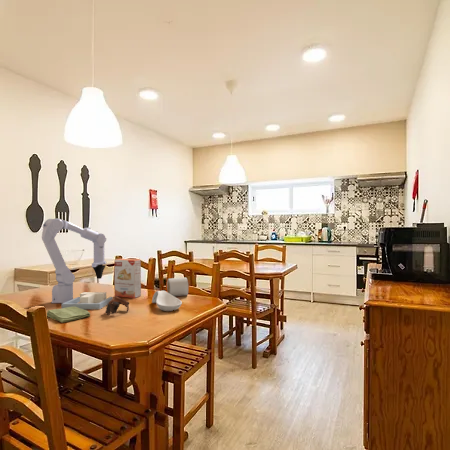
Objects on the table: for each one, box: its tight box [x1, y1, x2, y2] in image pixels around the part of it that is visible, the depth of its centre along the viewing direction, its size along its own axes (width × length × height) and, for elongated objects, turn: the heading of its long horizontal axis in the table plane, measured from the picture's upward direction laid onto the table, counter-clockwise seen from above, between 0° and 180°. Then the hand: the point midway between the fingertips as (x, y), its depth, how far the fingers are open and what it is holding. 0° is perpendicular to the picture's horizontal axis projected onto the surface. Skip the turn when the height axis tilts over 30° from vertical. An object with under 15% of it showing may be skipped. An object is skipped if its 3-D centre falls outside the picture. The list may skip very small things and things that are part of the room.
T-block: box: [79, 291, 107, 303], centre depth 159 cm, size 12×12×5 cm
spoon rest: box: [151, 289, 183, 312], centre depth 152 cm, size 24×12×7 cm, turn 33°
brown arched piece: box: [105, 295, 131, 316], centre depth 142 cm, size 12×10×8 cm
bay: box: [61, 296, 114, 310], centre depth 158 cm, size 18×16×2 cm
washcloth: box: [46, 306, 91, 324], centre depth 137 cm, size 13×18×3 cm
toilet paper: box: [166, 277, 189, 297], centre depth 178 cm, size 10×10×10 cm
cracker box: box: [114, 258, 142, 299], centre depth 178 cm, size 14×6×21 cm, turn 68°
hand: (99, 278), depth 180 cm, fingers closed
